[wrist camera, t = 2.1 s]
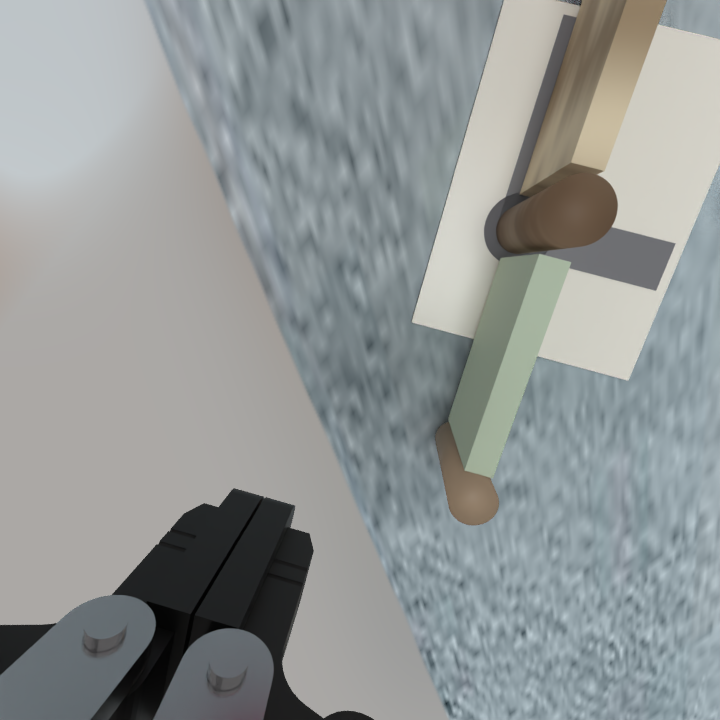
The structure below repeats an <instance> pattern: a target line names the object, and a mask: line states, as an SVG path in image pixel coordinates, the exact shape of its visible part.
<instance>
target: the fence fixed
mask: <svg viewBox="0 0 720 720" xmlns="http://www.w3.org/2000/svg"><path fill="white" fill-rule="evenodd" d="M666 1H667V0H582V3H581V6H580V9H579V12H578V15H577V18H576V22H575V25H574V28H573V31H572V34H571V37H570V40H569V43H568V46H567V49H566V52H565V55H564V59H563V62H562V65H561V68H560V71H559V74H558V77H557V80H556V83H555V86H554V89H553V92H552V96H551V99H550V102H549V105H548V108H547V111H546V114H545V117H544V120H543V123H542V126H541V129H540V133H539V136H538V139H537V142H536V145H535V148H534V151H533V154H532V157H531V160H530V163H529V166H528V170H527V173H526V176H525V179H524V182H523V185H522V188H521V191H520V195H524V196H528V197H530V198H528V199H526V200H524V201H522V202H521V203H519V204H517V205H515V206H513V207H511V208H510V209H508V210H507V211H506V212H504V213H503V215H502V216H501V217H500V219H499V221H498V223H497V227H496V236H497V240H498V242H499V244H500V245H501V246H502V248H504V249H505V250H506V251H508V252H510V253H513V254H524V253H533V252H541V251H550V250H558V249H566V248H575V247H583V246H587V245H590V244H592V243H594V242H596V241H598V240H599V239H601V238H602V237H603V236H604V235H605V234H606V233H607V232H608V231H609V230H610V228H611V227H612V225H613V223H614V221H615V218H616V215H617V210H618V201H617V196H616V193H615V191H614V189H613V187H612V186H611V184H610V183H609V182H608V181H607V180H605V179H604V178H603V177H601V176H599V175H597V174H599V173H601V172H604V171H605V169H606V166H607V163H608V160H609V158H610V155H611V152H612V149H613V147H614V144H615V141H616V138H617V136H618V133H619V130H620V127H621V125H622V122H623V119H624V116H625V114H626V111H627V108H628V105H629V103H630V100H631V97H632V94H633V92H634V89H635V86H636V83H637V81H638V78H639V75H640V72H641V70H642V67H643V64H644V61H645V59H646V56H647V53H648V51H649V48H650V45H651V42H652V40H653V37H654V34H655V31H656V29H657V26H658V23H659V20H660V18H661V15H662V12H663V9H664V7H665V4H666Z"/></svg>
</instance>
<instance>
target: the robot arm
mask: <svg viewBox="0 0 720 720" xmlns="http://www.w3.org/2000/svg"><path fill="white" fill-rule="evenodd" d="M294 510H295V506H294V505H291V504H287V503H284V502H280V501H277V500H273V499H270V498H267V497H266V498H264V497H263V496H259V495H256V494H252V493H248V492H245V491H242V490H238V489H233V490H232V491H231V492H230V493H229V495H228V496H227V497H226V498H225V500H224V501H223V502H222V504H221V505H220V506H219V507H215V506H212V505H208V504H205V503H204V504H202V505H200V506H198V507H196V508H194V509H192V510H190V511H188V512H186V513H184V514H183V516H182V517H181V518H180V519H179V520H178V521H177V522H176V524H175V525H174V526H173V527H172V528H171V530H170V532H169V531H168V532H167V534H166V535H165V536H164V537H163V538H162V539H161V540H160V542H159V544H158V545H156V546H155V547H154V548H153V549H152V550H151V552H150V553H149V554H148V555H147V556H146V557H145V558H144V559H143V561H142V562H141V563H140V564H139V565H138V566H137V567H136V569H135V570H134V571H133V572H132V573H131V574H130V575H129V576H128V577H127V579H126V580H125V581H124V582H123V583H122V584H121V585H120V587H118V589H117V590H116V591H115V592H114V593H113V594H112V595H110V596H104V597H99V598H96V599H93V600H90V601H88V602H86V603H83V604H81V605H79V606H78V607H76V608H75V609H73V610H72V611H70V612H69V613H68V614H67V615H65V616H64V617H63V618H62V619H61V620H60V621H59V622H58V623H55V624H47V625H0V720H374V719H372V718H371V717H369V716H366V715H364V714H362V713H358V712H354V711H341V712H336V713H333V714H331V715H329V716H327V717H326V718H324V719H323V718H322V717H321V716H319V715H318V714H317V713H315V712H314V711H313V710H311V709H310V708H309V707H307V706H306V705H305V704H303V703H302V702H301V701H300V700H299V699H298V698H297V697H296V695H295V694H294V693H293V692H292V690H291V689H290V687H289V685H288V683H287V681H286V679H285V676H284V672H283V667H282V660H283V657H284V653H285V650H286V646H287V643H288V640H289V637H290V634H291V630H292V627H293V624H294V620H295V617H296V614H297V610H298V607H299V604H300V600H301V596H302V592H303V589H304V585H305V581H306V577H307V574H308V570H309V566H310V562H311V559H312V555H313V546H312V542H311V538H310V534H309V533H305V532H302V531H299V530H295V529H291V528H290V527H291V523H292V519H293V515H294Z"/></svg>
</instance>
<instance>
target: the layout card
mask: <svg viewBox="0 0 720 720" xmlns="http://www.w3.org/2000/svg"><path fill="white" fill-rule="evenodd" d="M579 9H580V6H578V5H574V4H570V3H566V2H562V1H557V0H504V2H503V5H502V9H501V12H500V16H499V19H498V23H497V26H496V29H495V33H494V36H493V40H492V43H491V47H490V50H489V54H488V57H487V61H486V64H485V68H484V71H483V75H482V78H481V82H480V85H479V89H478V92H477V96H476V99H475V103H474V106H473V110H472V113H471V116H470V120H469V123H468V127H467V130H466V134H465V137H464V141H463V144H462V148H461V151H460V155H459V158H458V162H457V165H456V169H455V172H454V176H453V179H452V183H451V186H450V190H449V193H448V197H447V200H446V203H445V207H444V210H443V214H442V217H441V221H440V224H439V228H438V231H437V235H436V238H435V242H434V245H433V249H432V252H431V256H430V259H429V263H428V266H427V270H426V273H425V277H424V280H423V284H422V287H421V290H420V294H419V297H418V301H417V304H416V308H415V311H414V315H413V318H412V323H416V324H419V325H423V326H427V327H430V328H434V329H438V330H442V331H445V332H449V333H453V334H456V335H460V336H464V337H468V338H471V339H474V338H475V335H476V332H477V329H478V326H479V323H480V320H481V316H482V313H483V310H484V307H485V304H486V301H487V298H488V295H489V292H490V289H491V286H492V283H493V280H494V277H495V273H496V270H497V267H498V264H499V261H500V258H504V257H514V256H523V255H533V254H542V255H546V256H550V257H553V258H557V259H561V260H565V261H569V262H571V265H570V268H569V270H568V273H567V276H566V279H565V281H564V284H563V287H562V290H561V292H560V295H559V298H558V301H557V303H556V306H555V309H554V312H553V314H552V317H551V320H550V322H549V325H548V328H547V331H546V333H545V336H544V339H543V342H542V344H541V347H540V350H539V353H538V355H537V356H538V357H542V358H546V359H550V360H553V361H557V362H561V363H564V364H568V365H572V366H576V367H579V368H583V369H587V370H590V371H594V372H598V373H602V374H605V375H609V376H613V377H616V378H620V379H624V380H629V378H630V375H631V373H632V371H633V368H634V366H635V364H636V361H637V359H638V356H639V354H640V352H641V349H642V347H643V345H644V342H645V340H646V337H647V335H648V333H649V330H650V328H651V326H652V323H653V321H654V318H655V316H656V314H657V311H658V309H659V307H660V304H661V302H662V299H663V297H664V295H665V292H666V290H667V288H668V285H669V283H670V280H671V278H672V276H673V273H674V271H675V269H676V266H677V264H678V261H679V259H680V257H681V254H682V252H683V250H684V247H685V245H686V242H687V240H688V238H689V235H690V233H691V231H692V228H693V226H694V223H695V221H696V219H697V216H698V214H699V212H700V209H701V207H702V204H703V202H704V200H705V197H706V195H707V193H708V190H709V188H710V185H711V183H712V181H713V178H714V176H715V174H716V171H717V169H718V167H719V164H720V39H717V38H713V37H708V36H704V35H700V34H696V33H692V32H687V31H683V30H679V29H675V28H671V27H666V26H662V25H658V26H657V29H656V31H655V34H654V37H653V40H652V42H651V45H650V48H649V51H648V53H647V56H646V59H645V61H644V64H643V67H642V70H641V72H640V75H639V78H638V81H637V83H636V86H635V89H634V92H633V94H632V97H631V100H630V103H629V105H628V108H627V111H626V114H625V116H624V119H623V122H622V125H621V127H620V130H619V133H618V136H617V138H616V141H615V144H614V147H613V149H612V152H611V155H610V158H609V160H608V163H607V166H606V169H605V171H604V172H601V173H599V174H597V175H599V176H601V177H603V178H604V179H605V180H607V181H608V182H609V183H610V184H611V186H612V187H613V189H614V191H615V193H616V196H617V201H618V210H617V215H616V218H615V221H614V223H613V225H612V227H611V228H610V230H609V231H608V232H607V233H606V234H605V235H604V236H603V237H602V238H601V239H599V240H598V241H596V242H594V243H592V244H590V245H587V246H583V247H575V248H566V249H558V250H550V251H541V252H533V253H524V254H513V253H510V252H508V251H506V250H505V249H504V248H502V246H501V245H500V244H499V242H498V240H497V236H496V227H497V223H498V221H499V219H500V217H501V216H502V215H503V213H504V212H506V211H507V210H508V209H510V208H511V207H513V206H515V205H517V204H519V203H521V202H522V201H524V200H526V199H528V198H530V197H528V196H524V195H520V191H521V188H522V185H523V182H524V179H525V176H526V173H527V170H528V166H529V163H530V160H531V157H532V154H533V151H534V148H535V145H536V142H537V139H538V136H539V133H540V129H541V126H542V123H543V120H544V117H545V114H546V111H547V108H548V105H549V102H550V99H551V96H552V92H553V89H554V86H555V83H556V80H557V77H558V74H559V71H560V68H561V65H562V62H563V59H564V55H565V52H566V49H567V46H568V43H569V40H570V37H571V34H572V31H573V28H574V25H575V22H576V18H577V15H578V12H579Z"/></svg>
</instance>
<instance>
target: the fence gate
mask: <svg viewBox="0 0 720 720" xmlns="http://www.w3.org/2000/svg"><path fill="white" fill-rule="evenodd" d="M570 265H571V262H569V261H565V260H561V259H557V258H553V257H550V256H546V255H542V254H533V255H523V256H514V257H504V258H500V261H499V264H498V267H497V270H496V273H495V277H494V280H493V283H492V286H491V289H490V292H489V295H488V298H487V301H486V304H485V307H484V310H483V313H482V316H481V320H480V323H479V326H478V329H477V332H476V335H475V338H474V341H473V344H472V347H471V350H470V353H469V356H468V360H467V363H466V366H465V369H464V372H463V375H462V378H461V381H460V384H459V387H458V390H457V393H456V396H455V400H454V403H453V406H452V409H451V412H450V415H449V418H448V420H449V422H446V423H444V424H443V425H441V426H440V427H439V428H438V430H437V432H436V435H435V441H436V446H437V451H438V455H439V460H440V465H441V470H442V475H443V480H444V485H445V490H446V495H447V500H448V505H449V509H450V511H451V513H452V515H453V516H454V517H455V518H456V519H457V520H458V521H460V522H462V523H464V524H467V525H480V524H483V523H486V522H488V521H489V520H491V519H492V518H493V517H494V515H495V514H496V512H497V510H498V507H499V499H498V496H497V493H496V491H495V489H494V486H493V484H492V481H491V479H490V478H493V476H494V474H495V471H496V468H497V465H498V463H499V460H500V457H501V454H502V452H503V449H504V446H505V443H506V441H507V438H508V435H509V432H510V430H511V427H512V424H513V421H514V419H515V416H516V413H517V410H518V408H519V405H520V402H521V399H522V397H523V394H524V391H525V388H526V386H527V383H528V380H529V377H530V375H531V372H532V369H533V366H534V364H535V361H536V358H537V355H538V353H539V350H540V347H541V344H542V342H543V339H544V336H545V333H546V331H547V328H548V325H549V322H550V320H551V317H552V314H553V312H554V309H555V306H556V303H557V301H558V298H559V295H560V292H561V290H562V287H563V284H564V281H565V279H566V276H567V273H568V270H569V268H570Z"/></svg>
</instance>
